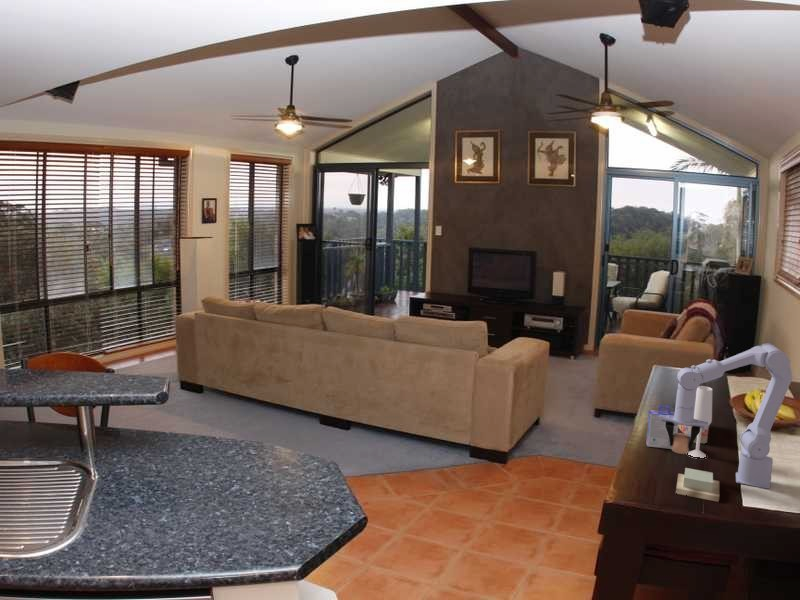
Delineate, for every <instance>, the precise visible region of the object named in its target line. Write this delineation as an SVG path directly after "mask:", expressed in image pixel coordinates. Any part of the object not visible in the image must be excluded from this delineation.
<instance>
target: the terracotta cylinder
mask: <svg viewBox="0 0 800 600" xmlns="http://www.w3.org/2000/svg"><path fill="white" fill-rule="evenodd" d="M689 443H690V436H688V435H686V434H683V432H682V433H681V432H678V433H675V434H673V443H672V449H671V451H672V452H673V453H676V454H681V455H687V453H688V452H689V451H690V449H689Z"/></svg>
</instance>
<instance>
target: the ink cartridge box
mask: <svg viewBox="0 0 800 600" xmlns="http://www.w3.org/2000/svg"><path fill="white" fill-rule="evenodd" d="M662 408H665V409H662ZM660 415H671V416H674V415H675V411H671V409H670V405H664V404H659V405H658V410H654V409H653V410H651V409H649V410H648V418H647V419H648V420H647V432H646V441H645V443H646V447H647V448H648V447H650V448H651V447H652V448H657V449H660V448H661V449H669V450H672V446H670V440H669V435H668V432H667V429H666V426H665V425H666V422H659V416H660ZM678 431H679V427H678V424H674V430H673V434H675V433H679V432H678Z"/></svg>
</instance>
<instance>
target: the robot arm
mask: <svg viewBox="0 0 800 600" xmlns="http://www.w3.org/2000/svg"><path fill="white" fill-rule="evenodd" d="M748 365H755V366H758V367H761V368H764V366H765V368H766V369H767V371H768V372H769V374H770V376H771V378H770V381H769V383H768V386H767V388H766V391H765V392H764V395H763V397H762V400H761V403H760V405H759V406H758V407H759V408H758V410H757V412H756V415H755V417H754V419H753V420H752V421H753V422H751V423H749V424H748V426H747V428H746V429H745V430H744V431H743V432H742V433H740V436H739V443H740V444H741V446H742V447H741V449H740V453H739V463H738V468H737V469H738V470H737V471H736V472H735V482H736V483H737V484H743V485H747V486H751V487H752V486H753V487H758V488H763V489H770V488H771V482H772V472H773V461H774V460H773V457H772V456H771V457H770V456H768V455H769V453H770V451H771V449H770V443H771V441H772V434H771V429H772V427H773V425H774V423H775V420H776V418H777V415H778V413H779V411H780V408H781V406H782V404H783V401H784V399H785V397H786V394H787V391H788V389H789V388H790V385H791V383H792V380H793V373H792V368H791V359H790V358H789V356H788V355H787V354H786V352H784V351H782V350H781V349H779V348H778V347H777V346H775V345H774V344H772V343H763V344H761V345H756V346H753V347H751V348H750V349H747V350H745V351H742V352H740V353H737V354H736V355H733V356H730V357H727V358H725V359H723V360H720V361H719V360H717V359H711V358H709V359H706V360H705V362H703V363H700V364H697V365H694V364H693V365H691V366H690V367H684V368H681V369H679V370H678V372H677V374H676V381H678V383H677V390H676V396H675V397H676V398H675V408H674V412H675V415H674V416H671V415H660V416H659V422H666V425H665V426H666V429H667V432H668V435H669V440H670V446H672V443H673V430H674V424H679V425H685V426H691V427H692V430H691V438H690V442H689V450H692V447H693V444H694V443H693V442H694V440H695V438H696V437H697V435H698V434H699V432H700V428H703V429H705V430H708V422H704V421H700V420H696V419H694V410H695V401H696V391H697V388H698V387H699V386H701V384H704V383H708V382H711V381H713V380H716V379H719V378H722V377H723V375H724V373H725V372H727V371H731V370H734V369H735V370H736V369H739V368H740V367H745V366H748ZM708 431H709V430H708Z"/></svg>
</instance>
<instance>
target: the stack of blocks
mask: <svg viewBox="0 0 800 600" xmlns="http://www.w3.org/2000/svg"><path fill="white" fill-rule="evenodd" d="M710 424H711V423H710ZM710 424H709V425H708V430H705V429H702V432H701V440H700V444H705V443H708V435H709V428H710ZM678 430H680V431H681V432H682V434H686V435H688V436H690V438H691V430H692V427H691V426H685V425H679V424H678ZM696 442H697V437H696V438H695V440H694V442H693V444H694V443H695V444H696Z"/></svg>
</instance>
